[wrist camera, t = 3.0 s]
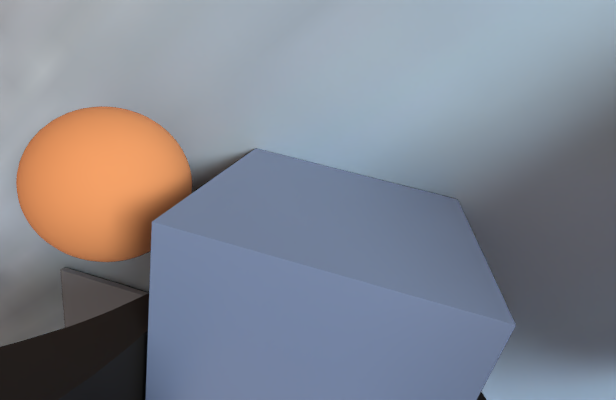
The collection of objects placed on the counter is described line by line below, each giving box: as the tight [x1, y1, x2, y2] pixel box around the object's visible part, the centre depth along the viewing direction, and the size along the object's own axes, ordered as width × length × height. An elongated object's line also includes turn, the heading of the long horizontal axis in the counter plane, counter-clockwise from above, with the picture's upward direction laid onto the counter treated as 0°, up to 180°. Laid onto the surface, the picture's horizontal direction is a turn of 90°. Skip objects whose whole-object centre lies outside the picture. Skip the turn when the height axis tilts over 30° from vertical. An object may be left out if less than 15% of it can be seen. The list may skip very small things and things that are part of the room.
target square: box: [61, 267, 148, 328], centre depth 15 cm, size 7×7×1 cm
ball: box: [16, 107, 192, 262], centre depth 10 cm, size 4×4×4 cm
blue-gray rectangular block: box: [146, 149, 516, 400], centre depth 10 cm, size 9×6×5 cm
